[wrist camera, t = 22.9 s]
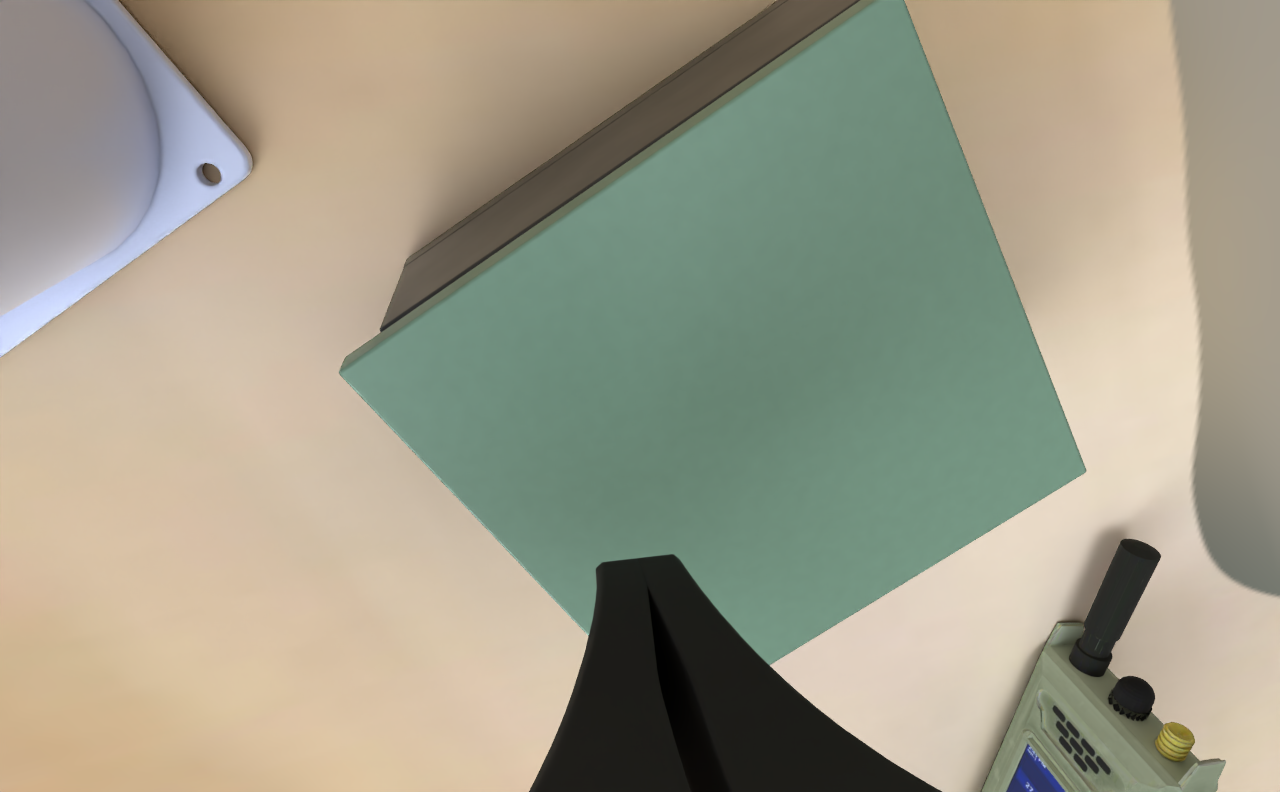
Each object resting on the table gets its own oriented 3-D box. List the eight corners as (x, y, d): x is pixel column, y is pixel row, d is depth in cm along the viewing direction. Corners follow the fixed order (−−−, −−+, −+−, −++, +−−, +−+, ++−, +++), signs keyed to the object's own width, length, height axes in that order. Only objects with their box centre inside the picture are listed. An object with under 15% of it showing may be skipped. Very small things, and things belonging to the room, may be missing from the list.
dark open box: (653, 560, 26) (688, 679, 21) (405, 259, 20) (377, 330, 15) (956, 373, 24) (1065, 455, 20) (783, -4, 19) (878, -14, 14)
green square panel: (666, 702, 21) (672, 726, 20) (343, 357, 15) (335, 373, 14) (1066, 456, 20) (1088, 472, 19) (878, -14, 14) (899, -17, 13)
